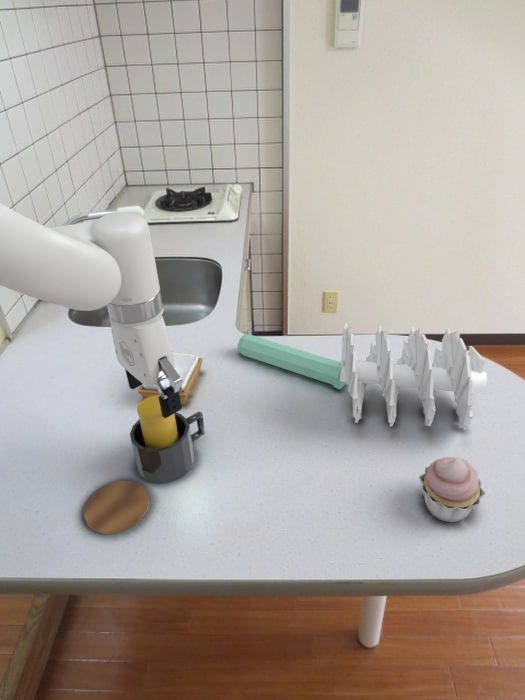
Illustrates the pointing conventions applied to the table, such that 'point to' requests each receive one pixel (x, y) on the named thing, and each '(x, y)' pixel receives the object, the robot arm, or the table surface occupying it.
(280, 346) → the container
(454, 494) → the cupcake
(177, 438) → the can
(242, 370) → the table surface
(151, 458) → the mug
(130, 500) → the coaster
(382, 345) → the spiral staircase
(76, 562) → the table surface
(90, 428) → the table surface
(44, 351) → the table surface
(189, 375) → the soap dish
